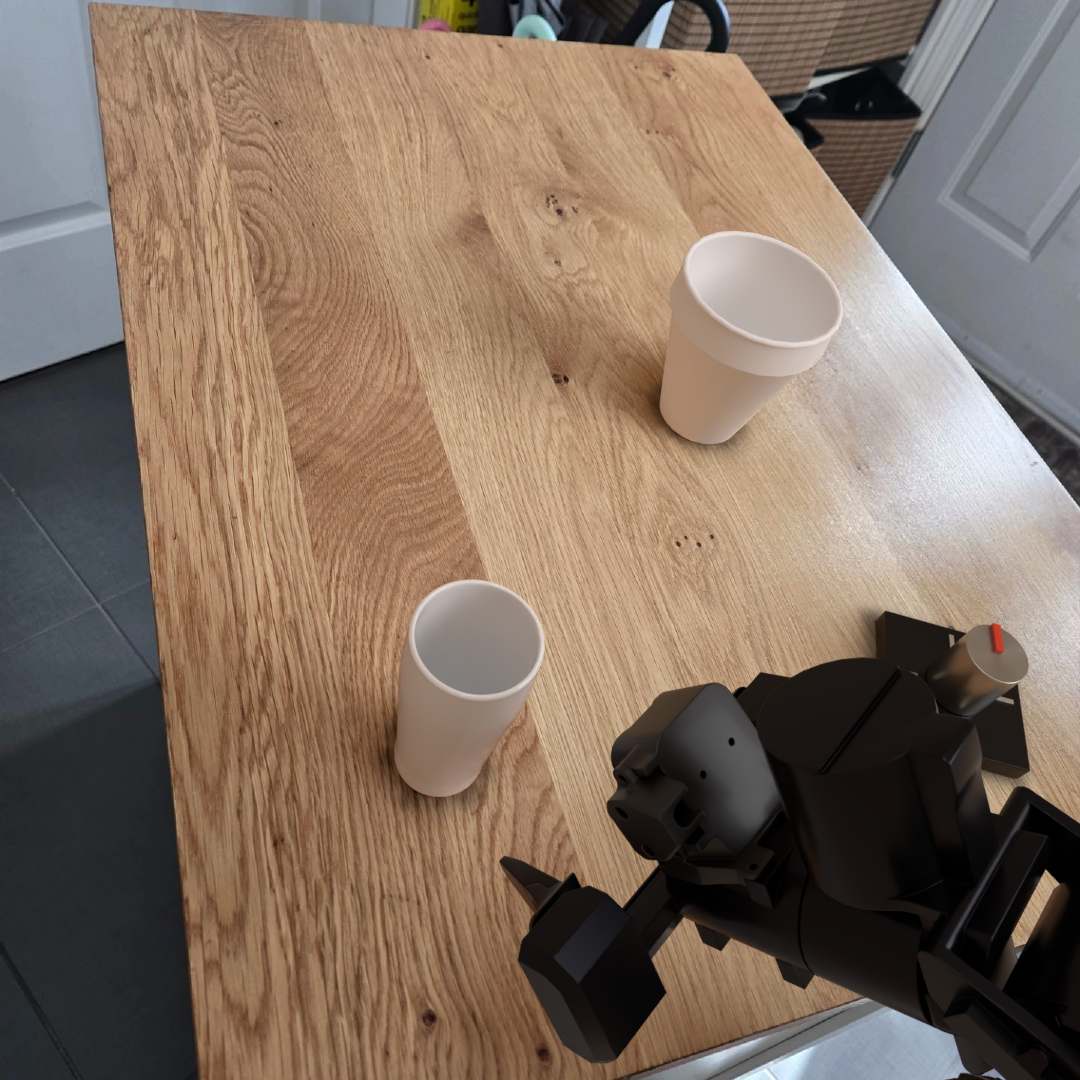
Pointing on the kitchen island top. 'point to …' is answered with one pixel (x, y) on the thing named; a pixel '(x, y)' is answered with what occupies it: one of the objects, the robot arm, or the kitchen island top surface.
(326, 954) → the kitchen island top surface
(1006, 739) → the hob panel
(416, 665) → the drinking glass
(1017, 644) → the hob knob
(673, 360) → the cup
